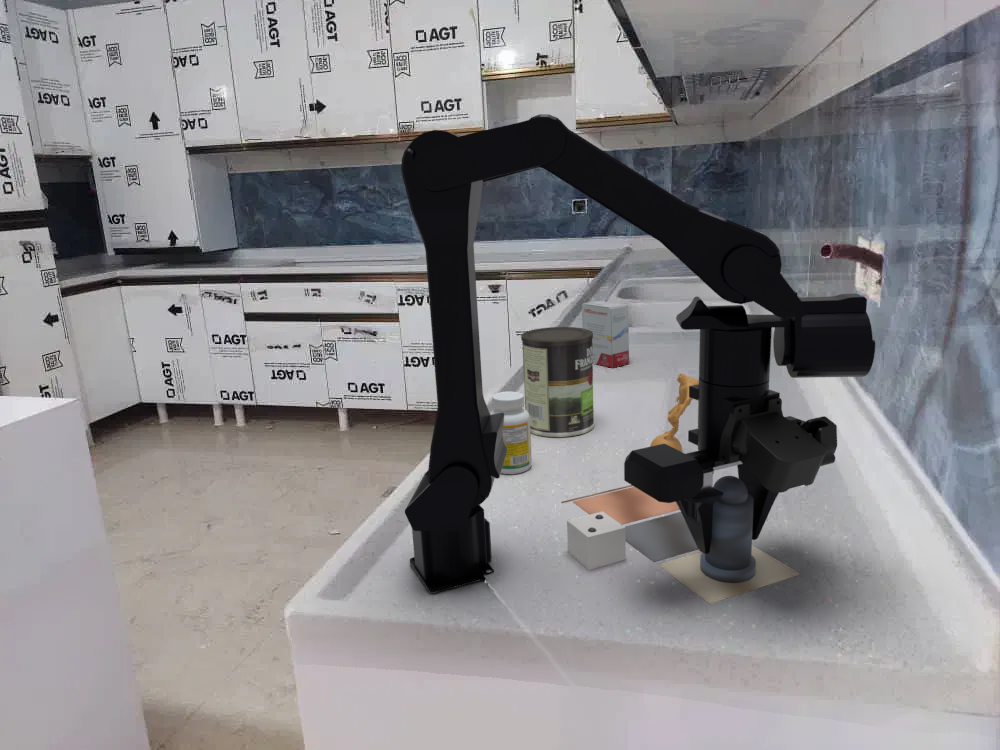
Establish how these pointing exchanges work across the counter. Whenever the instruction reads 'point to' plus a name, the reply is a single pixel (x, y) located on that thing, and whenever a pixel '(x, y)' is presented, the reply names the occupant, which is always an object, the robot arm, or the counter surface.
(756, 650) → the counter surface
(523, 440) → the supplement bottle
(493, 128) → the robot arm
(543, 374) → the coffee can
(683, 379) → the figurine
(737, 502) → the pawn
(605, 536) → the white die
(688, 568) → the game board
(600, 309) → the ink box
